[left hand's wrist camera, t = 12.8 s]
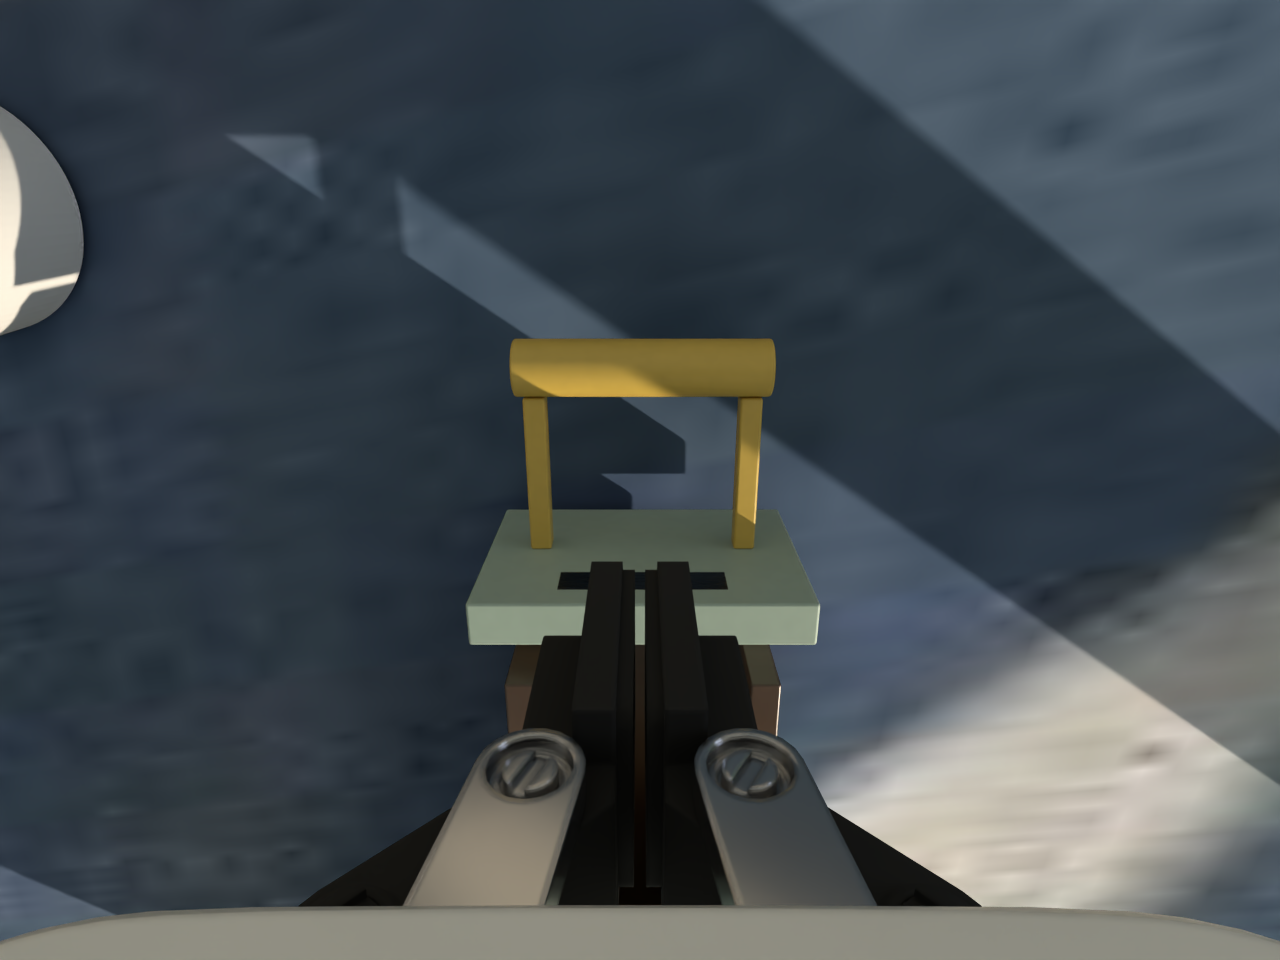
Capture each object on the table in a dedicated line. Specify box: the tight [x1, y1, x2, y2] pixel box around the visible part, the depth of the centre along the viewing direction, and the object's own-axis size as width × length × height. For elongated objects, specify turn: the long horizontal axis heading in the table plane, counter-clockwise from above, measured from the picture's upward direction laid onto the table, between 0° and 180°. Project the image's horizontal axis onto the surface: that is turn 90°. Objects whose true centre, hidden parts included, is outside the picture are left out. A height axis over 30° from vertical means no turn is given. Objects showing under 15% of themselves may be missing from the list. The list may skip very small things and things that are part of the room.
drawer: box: [466, 339, 820, 905], centre depth 23 cm, size 26×9×6 cm, turn 0°
